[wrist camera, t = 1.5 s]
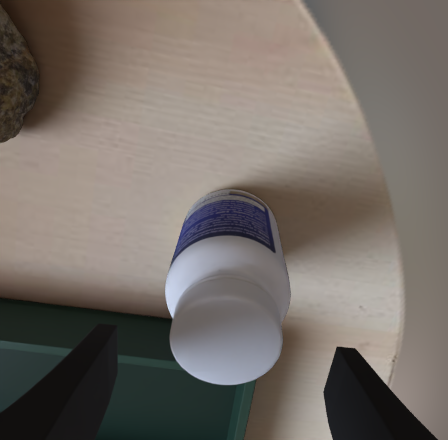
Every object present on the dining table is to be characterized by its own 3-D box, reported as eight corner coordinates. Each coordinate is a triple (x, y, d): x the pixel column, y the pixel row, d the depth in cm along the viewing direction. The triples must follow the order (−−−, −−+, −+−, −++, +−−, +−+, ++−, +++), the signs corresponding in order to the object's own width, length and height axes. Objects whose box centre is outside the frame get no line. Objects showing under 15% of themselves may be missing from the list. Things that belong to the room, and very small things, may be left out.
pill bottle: (164, 217, 21) (118, 321, 13) (246, 169, 20) (251, 250, 12) (216, 286, 23) (204, 417, 15) (294, 246, 21) (328, 364, 13)
